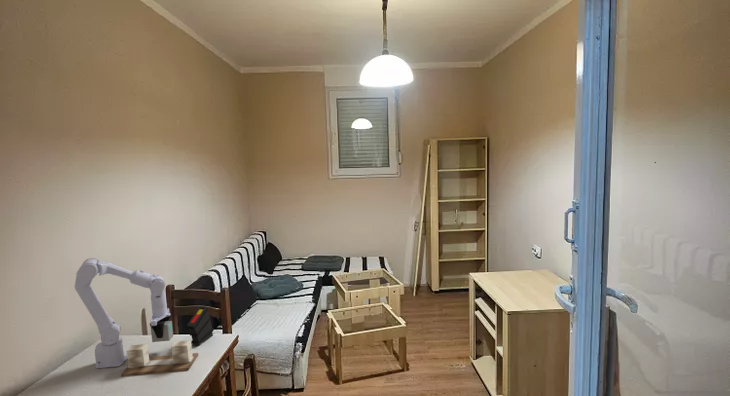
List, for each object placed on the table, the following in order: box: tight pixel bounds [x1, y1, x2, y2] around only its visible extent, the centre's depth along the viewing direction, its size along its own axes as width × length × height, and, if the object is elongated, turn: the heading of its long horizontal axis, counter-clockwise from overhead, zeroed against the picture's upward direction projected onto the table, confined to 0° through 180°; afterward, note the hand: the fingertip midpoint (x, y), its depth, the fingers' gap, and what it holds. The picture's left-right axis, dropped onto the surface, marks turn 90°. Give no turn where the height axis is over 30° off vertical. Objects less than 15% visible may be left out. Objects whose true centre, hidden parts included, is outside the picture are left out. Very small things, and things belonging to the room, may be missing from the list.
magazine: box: [186, 306, 215, 347], centre depth 183 cm, size 4×13×15 cm, turn 166°
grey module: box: [150, 320, 174, 343], centre depth 175 cm, size 7×4×7 cm, turn 95°
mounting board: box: [120, 339, 199, 377], centre depth 163 cm, size 25×12×8 cm, turn 95°
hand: (162, 335), depth 175 cm, fingers closed on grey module, 4 cm apart
